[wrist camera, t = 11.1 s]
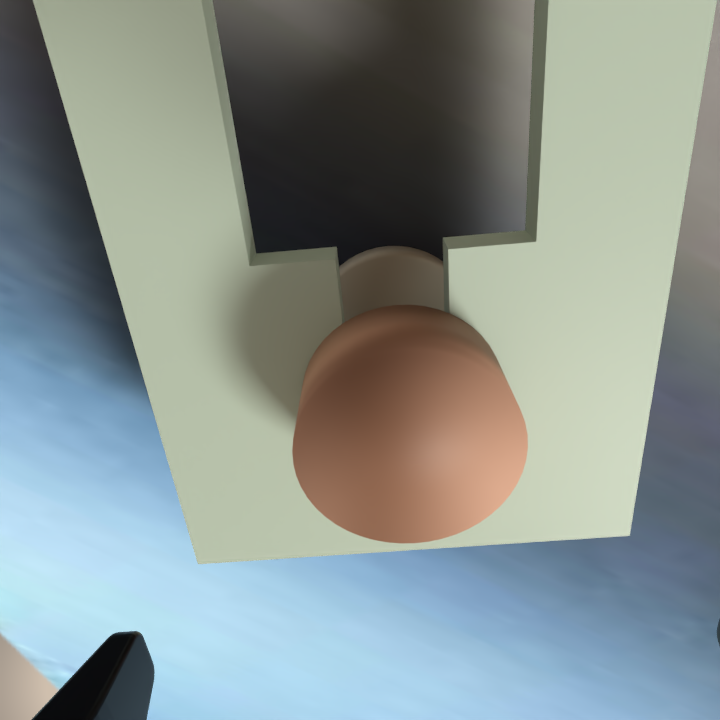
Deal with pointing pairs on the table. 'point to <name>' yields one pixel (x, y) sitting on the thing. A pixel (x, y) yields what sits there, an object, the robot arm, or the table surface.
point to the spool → (405, 409)
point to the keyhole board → (322, 277)
